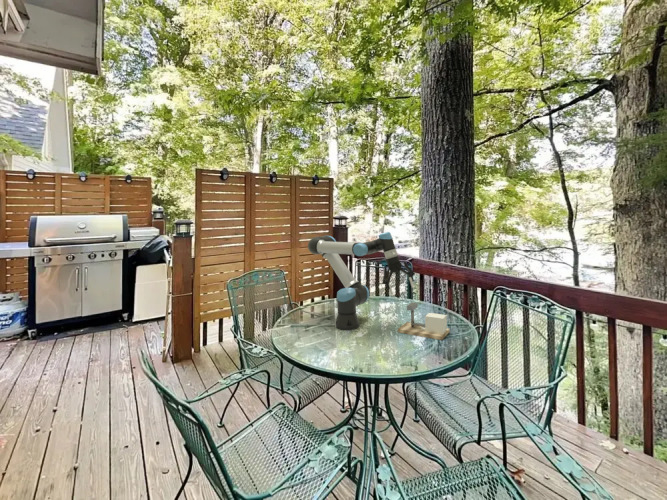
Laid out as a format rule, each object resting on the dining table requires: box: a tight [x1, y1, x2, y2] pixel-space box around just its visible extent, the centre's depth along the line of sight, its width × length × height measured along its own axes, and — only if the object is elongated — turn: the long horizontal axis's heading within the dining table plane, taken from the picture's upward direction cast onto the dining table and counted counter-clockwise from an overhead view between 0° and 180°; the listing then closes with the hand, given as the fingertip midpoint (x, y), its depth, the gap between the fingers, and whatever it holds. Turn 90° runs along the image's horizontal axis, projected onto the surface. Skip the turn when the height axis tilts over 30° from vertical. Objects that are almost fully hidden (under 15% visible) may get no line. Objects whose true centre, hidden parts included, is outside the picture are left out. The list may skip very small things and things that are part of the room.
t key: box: [406, 302, 425, 327], centre depth 198 cm, size 10×8×13 cm
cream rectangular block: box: [421, 312, 448, 334], centre depth 192 cm, size 13×7×9 cm, turn 55°
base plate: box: [397, 321, 451, 341], centre depth 197 cm, size 26×14×2 cm, turn 55°
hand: (402, 291), depth 203 cm, fingers open, 13 cm apart
